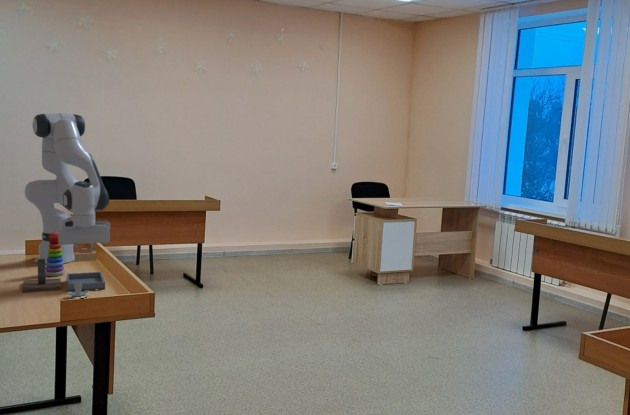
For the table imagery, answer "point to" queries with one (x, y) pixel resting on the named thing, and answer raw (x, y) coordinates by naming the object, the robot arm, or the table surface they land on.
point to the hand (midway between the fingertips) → (84, 254)
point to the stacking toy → (54, 257)
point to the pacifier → (77, 290)
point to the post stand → (41, 281)
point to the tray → (86, 281)
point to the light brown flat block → (85, 255)
